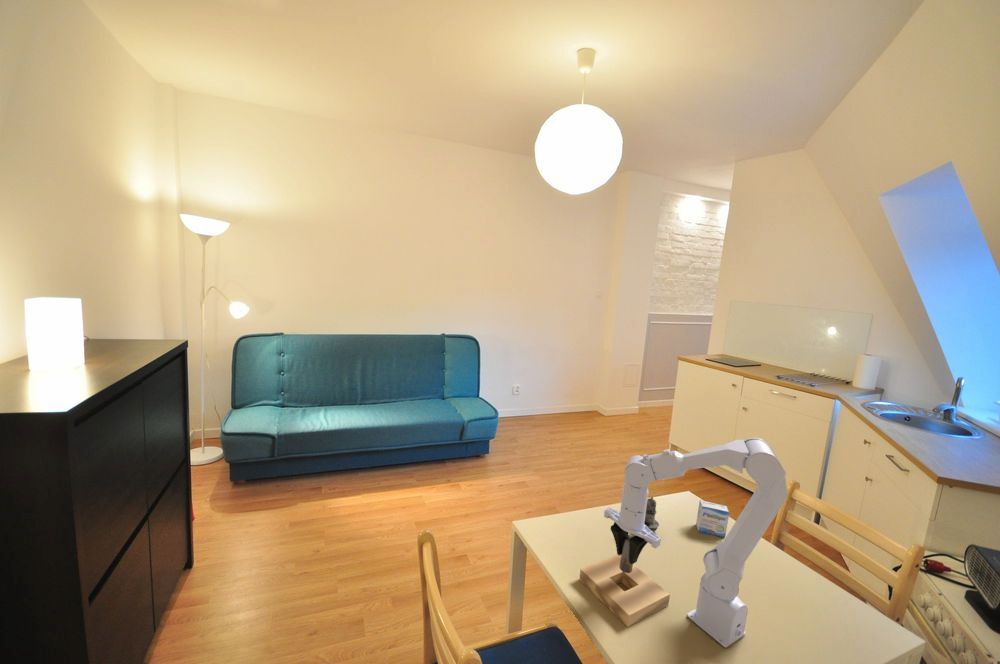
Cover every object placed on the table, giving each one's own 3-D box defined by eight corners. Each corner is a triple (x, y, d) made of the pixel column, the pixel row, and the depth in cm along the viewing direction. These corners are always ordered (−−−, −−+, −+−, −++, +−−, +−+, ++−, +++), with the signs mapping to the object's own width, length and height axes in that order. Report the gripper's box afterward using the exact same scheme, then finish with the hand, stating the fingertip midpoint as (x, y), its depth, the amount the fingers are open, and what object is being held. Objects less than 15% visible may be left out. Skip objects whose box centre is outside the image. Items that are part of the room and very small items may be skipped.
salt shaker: (654, 528, 130) (659, 492, 129) (659, 540, 124) (665, 503, 123) (635, 525, 131) (640, 490, 129) (639, 537, 125) (644, 500, 123)
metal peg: (634, 570, 101) (638, 539, 100) (627, 574, 100) (631, 544, 98) (624, 562, 104) (628, 533, 103) (616, 567, 102) (621, 537, 101)
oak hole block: (668, 605, 99) (670, 594, 99) (627, 627, 92) (629, 615, 92) (618, 563, 113) (619, 553, 112) (579, 579, 106) (580, 568, 105)
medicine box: (697, 531, 130) (701, 506, 129) (695, 524, 134) (699, 499, 133) (725, 538, 128) (729, 512, 127) (722, 530, 132) (726, 504, 131)
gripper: (670, 516, 96) (662, 569, 98) (618, 488, 107) (612, 536, 109) (653, 526, 92) (645, 581, 94) (601, 495, 103) (595, 545, 105)
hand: (626, 557), depth 101 cm, fingers closed on metal peg, 3 cm apart
